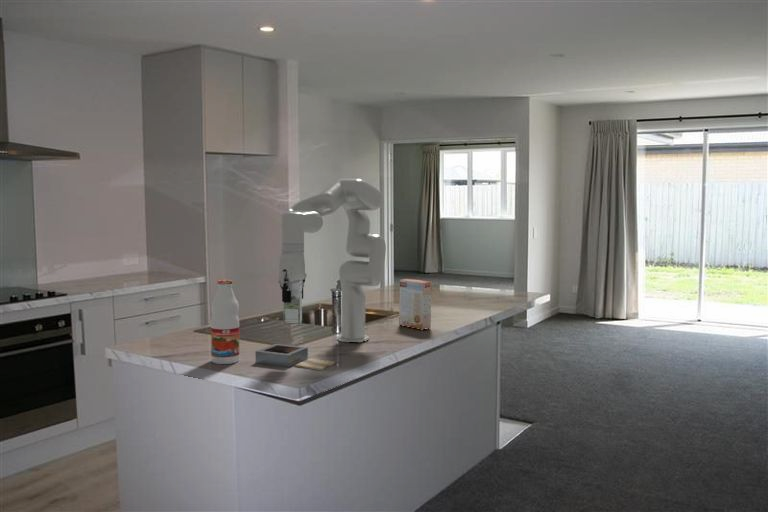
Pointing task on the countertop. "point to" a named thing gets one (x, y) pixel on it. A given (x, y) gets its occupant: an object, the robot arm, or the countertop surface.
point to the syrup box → (294, 305)
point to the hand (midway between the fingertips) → (292, 300)
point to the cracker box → (415, 303)
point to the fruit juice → (225, 325)
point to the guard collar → (281, 355)
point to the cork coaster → (315, 364)
